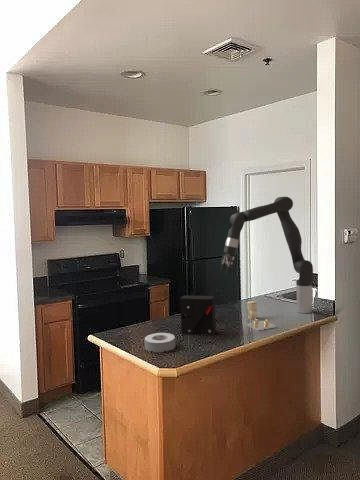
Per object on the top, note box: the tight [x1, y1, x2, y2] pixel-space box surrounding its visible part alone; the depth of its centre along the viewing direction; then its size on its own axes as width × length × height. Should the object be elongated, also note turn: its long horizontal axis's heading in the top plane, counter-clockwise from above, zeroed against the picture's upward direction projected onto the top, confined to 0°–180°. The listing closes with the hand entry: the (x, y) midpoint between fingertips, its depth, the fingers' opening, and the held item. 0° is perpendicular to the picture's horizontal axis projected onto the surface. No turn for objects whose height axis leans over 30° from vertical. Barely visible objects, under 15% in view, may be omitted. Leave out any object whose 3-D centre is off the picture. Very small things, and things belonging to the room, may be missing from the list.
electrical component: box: [179, 295, 217, 336], centre depth 222 cm, size 18×10×20 cm, turn 71°
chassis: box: [245, 318, 277, 331], centre depth 228 cm, size 12×12×4 cm
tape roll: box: [144, 332, 176, 353], centre depth 201 cm, size 15×15×5 cm
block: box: [246, 301, 258, 320], centre depth 245 cm, size 4×4×10 cm
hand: (225, 272), depth 242 cm, fingers open, 8 cm apart
